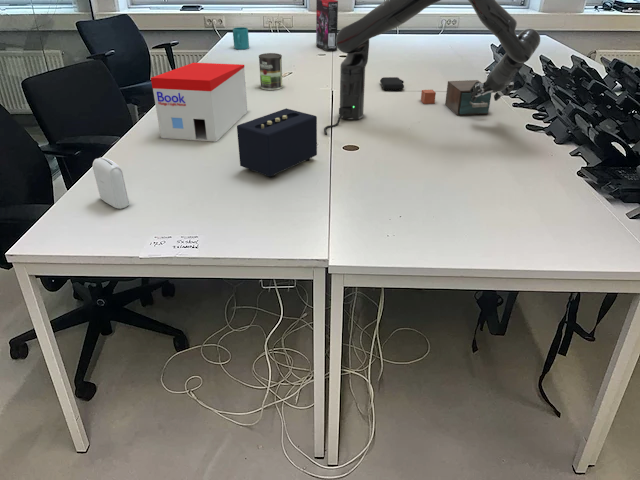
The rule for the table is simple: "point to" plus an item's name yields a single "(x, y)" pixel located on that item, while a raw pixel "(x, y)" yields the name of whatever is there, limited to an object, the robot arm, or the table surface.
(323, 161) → the table surface
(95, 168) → the photo printer
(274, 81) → the coffee can
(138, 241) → the table surface
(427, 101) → the block
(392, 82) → the carrying case
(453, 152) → the table surface
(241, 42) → the cup
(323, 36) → the graphics card box
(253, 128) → the speaker
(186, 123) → the bookstore
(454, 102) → the box
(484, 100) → the drawer
